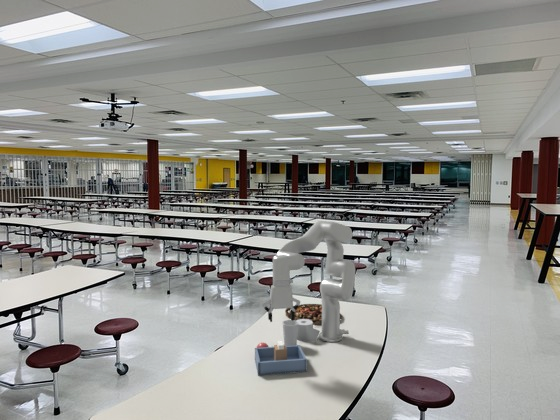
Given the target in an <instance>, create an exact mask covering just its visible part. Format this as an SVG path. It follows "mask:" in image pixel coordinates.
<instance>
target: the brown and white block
mask: <svg viewBox="0 0 560 420" xmlns="http://www.w3.org/2000/svg"><path fill="white" fill-rule="evenodd" d="M273 347H274V361H278V360H287V348H286V346H285V344H284V340H277V341H276V344H274V345H273Z"/></svg>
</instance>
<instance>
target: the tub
mask: <svg viewBox="0 0 560 420" xmlns="http://www.w3.org/2000/svg"><path fill="white" fill-rule="evenodd" d="M286 348H287V360H278V361H274V346H268V347H263V348H257V347H255V348H254V363H255V366H256V371H257V375H258V376H259V377H260V376H269V375H271V376H272V375H282V374H297V373H307V371H308V369H307V368H308V366H307V365H308V360H307V357H306V355H305V353H304V351H303V349H302V347H301V345H300V344H299V345H298V344H297V345H294V346H286Z"/></svg>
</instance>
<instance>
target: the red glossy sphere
mask: <svg viewBox="0 0 560 420" xmlns="http://www.w3.org/2000/svg"><path fill="white" fill-rule="evenodd" d="M263 347H269V345H268V344H267V343H266V342H259V343H258V344H257V346H256V348H263Z"/></svg>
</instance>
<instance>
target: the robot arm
mask: <svg viewBox="0 0 560 420" xmlns="http://www.w3.org/2000/svg"><path fill="white" fill-rule="evenodd" d="M352 238H353V231H352V228H351V227H350V226H348V225H345V224H341V223H339V222H335V221H327V220H325V221H323V220H318V221H316V222H314V224H312V225H311V227H310V228H309V229H308V230H307V231H306V232H305V233H304V234H303V235H302V236H300V237H298V238H297V237H296V238H295V239H293V240H290V241H289V242H286V243H285V244H284V245H283V246H282V247H280V249H279V250H278V251H277V253H276V254H275V255H273V257H272V285H270V288H269V289H270V290H269V298H268V299H267V300H264V301H263V302H261V305H262V307H263V309H264V310H265V312H267V314H268V317H267V318H268V321H270V323H272V322H273V310H282V309H287V308H290V311H291V320H292V321H293V318H295V310H296V309H297V308H298V306H299V305H301V300H299V299H297V298H295V297H293V289H292V285H291V284H293V282H294V280H293V279H290V276H291V274H290V273H291V271H297V270H301V269H302V268H303V267H304V265H305V264H306V263H305V262H306V260H305V259H306V258H305V257H304V256H303V255H302V254H301V253H305V252H306V253H307V252H310V251H314V250H315V249H316V248H317V247H318V246H319V245H320V243H321V242H322V241H324V242H325V245H326V246H327V251H326V253H327V254H326V261H325V267H324V268H325V269H324V270H325V273H326V274H327V275H328V276H332V277H336V278H341V279H336V278H329V277H328V278H327V277H326V278H324V279H322V280H321V282H320V284H319V291H320V296H321V304H322V325H321V331H320V332H319V335H318V338H319V340H321V341H324V342H328V343H336V342H340V341H342V340H343V335H349V333H350V331H349V330H348V329H347V330H345V328H342V329H341V326H340V324H341V323H340V322H341V320H340V314H341V305H340V301H339V300H342V301H349V300H350V299H351V298H352V296H353V293H354V285H355V279H356V278H355V277H356V266H355V263H354V262H353V261H352V260H349V259H344V247H343V244H344V243H345V244H346V243H349V242H351V240H352ZM342 243H343V244H342ZM294 303H295V305H294ZM268 304H269V307H268V306H267V305H268ZM293 306H294V307H293Z"/></svg>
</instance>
